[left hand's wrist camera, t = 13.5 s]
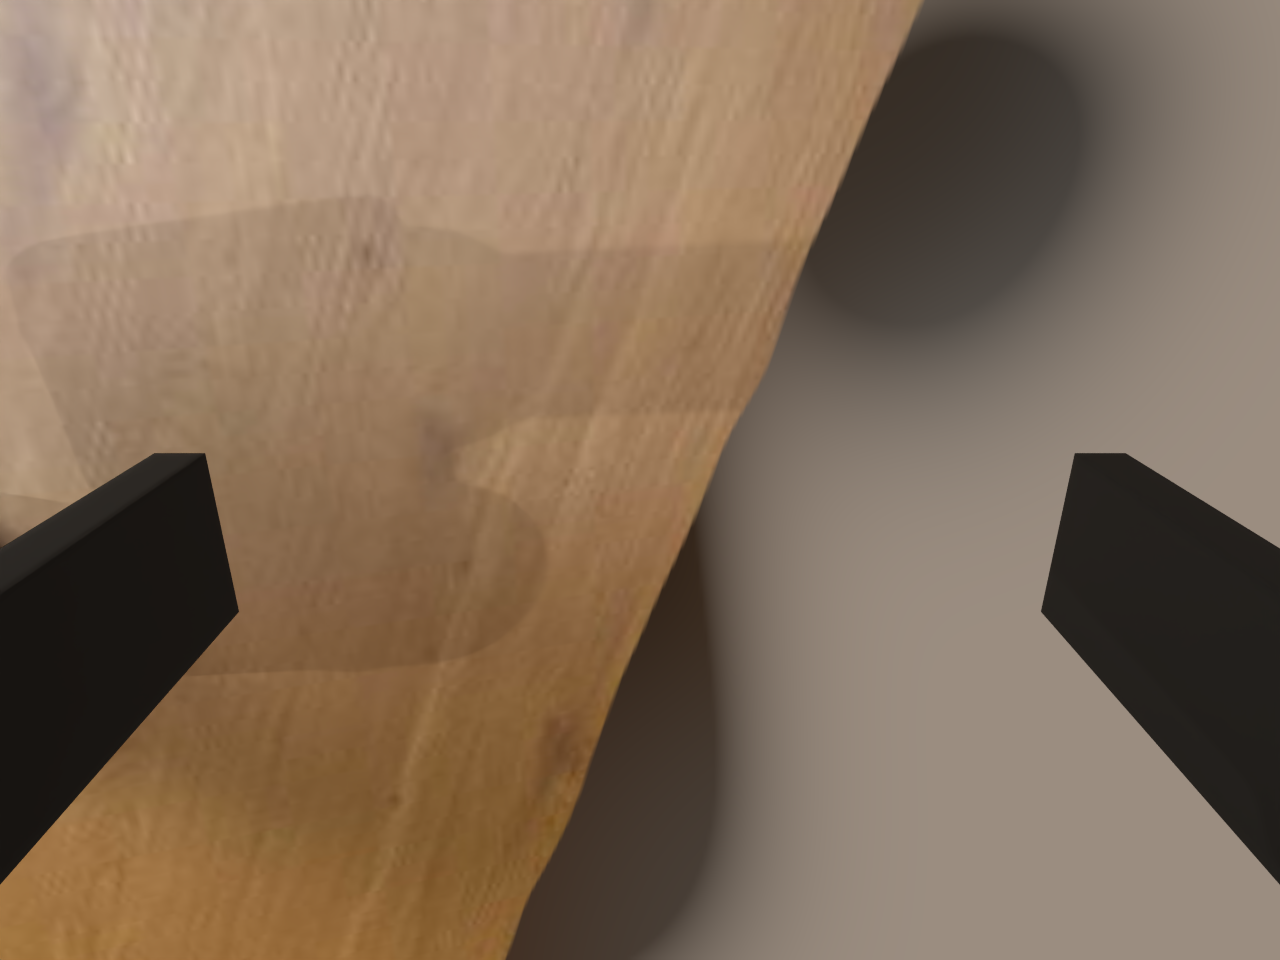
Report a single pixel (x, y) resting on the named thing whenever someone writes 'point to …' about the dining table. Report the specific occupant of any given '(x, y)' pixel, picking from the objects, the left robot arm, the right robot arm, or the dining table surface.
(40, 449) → the dining table surface
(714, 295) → the dining table surface
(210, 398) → the dining table surface
